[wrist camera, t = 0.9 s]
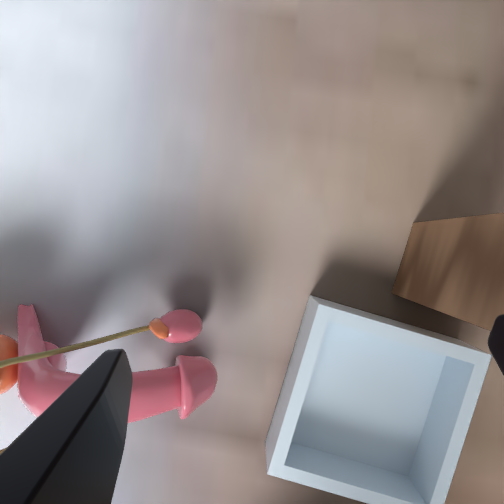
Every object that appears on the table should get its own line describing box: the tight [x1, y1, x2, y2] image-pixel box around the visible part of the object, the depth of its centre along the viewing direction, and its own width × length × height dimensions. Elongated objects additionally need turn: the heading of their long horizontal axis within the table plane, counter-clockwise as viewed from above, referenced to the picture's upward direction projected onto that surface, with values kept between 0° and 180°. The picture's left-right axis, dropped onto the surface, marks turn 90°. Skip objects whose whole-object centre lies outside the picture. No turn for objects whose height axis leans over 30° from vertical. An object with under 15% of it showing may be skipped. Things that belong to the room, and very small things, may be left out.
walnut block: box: [392, 213, 504, 331], centre depth 18 cm, size 5×5×13 cm
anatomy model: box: [0, 304, 217, 454], centre depth 20 cm, size 11×15×17 cm
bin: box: [265, 295, 492, 504], centre depth 23 cm, size 11×11×4 cm
